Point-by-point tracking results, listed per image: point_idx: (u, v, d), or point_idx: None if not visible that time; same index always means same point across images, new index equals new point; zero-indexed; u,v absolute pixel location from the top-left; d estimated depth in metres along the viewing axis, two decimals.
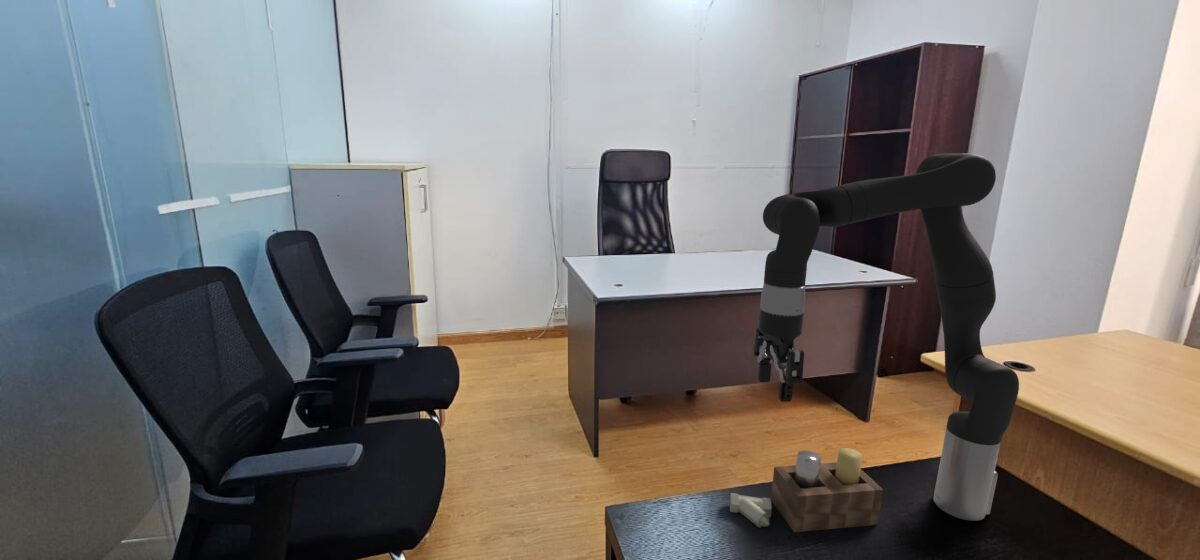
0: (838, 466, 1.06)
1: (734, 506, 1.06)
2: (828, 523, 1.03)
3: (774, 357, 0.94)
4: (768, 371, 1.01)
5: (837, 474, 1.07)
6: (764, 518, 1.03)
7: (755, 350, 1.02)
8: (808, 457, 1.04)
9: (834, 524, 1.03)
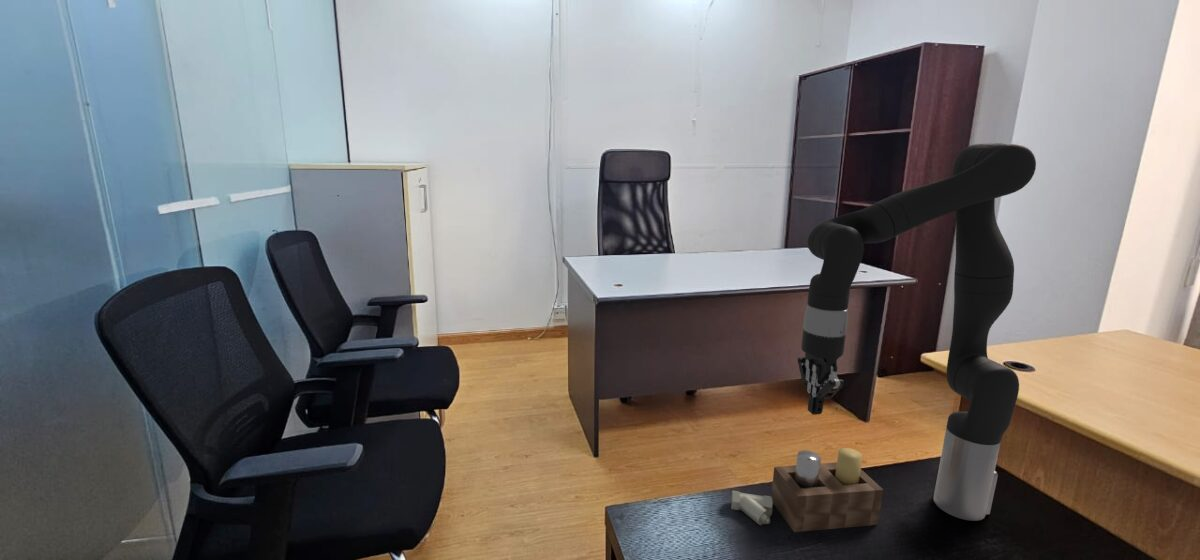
0: (838, 466, 1.06)
1: (735, 503, 1.07)
2: (828, 523, 1.03)
3: (814, 375, 0.99)
4: None
5: (837, 474, 1.07)
6: (765, 516, 1.03)
7: (803, 380, 1.04)
8: (808, 457, 1.04)
9: (834, 524, 1.03)
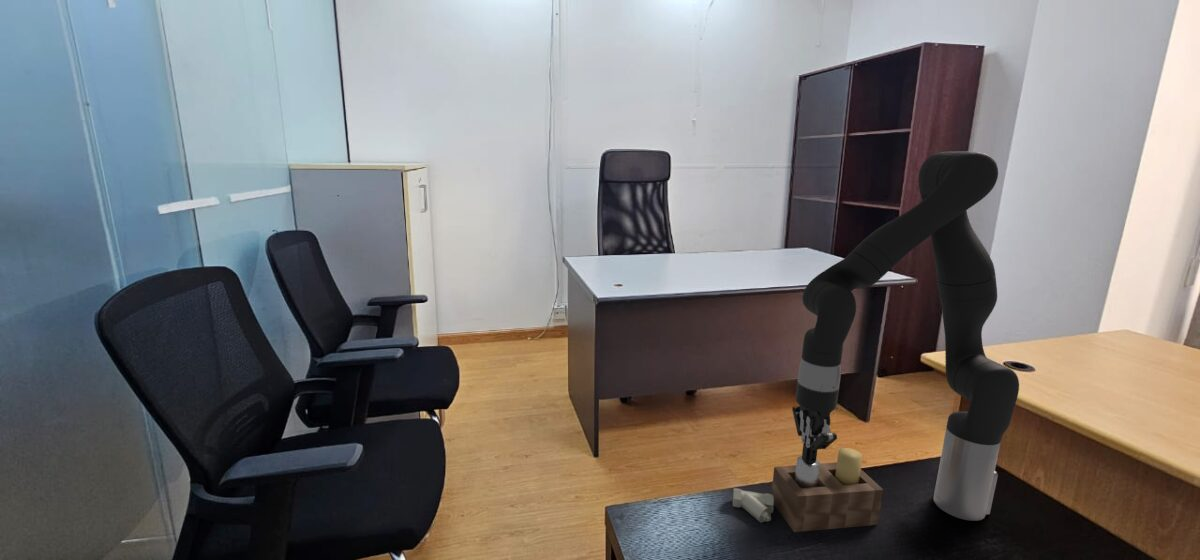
0: (838, 466, 1.06)
1: (736, 501, 1.08)
2: (828, 523, 1.03)
3: (807, 426, 1.02)
4: None
5: (837, 474, 1.07)
6: (766, 513, 1.04)
7: (798, 429, 1.06)
8: None
9: (834, 524, 1.03)
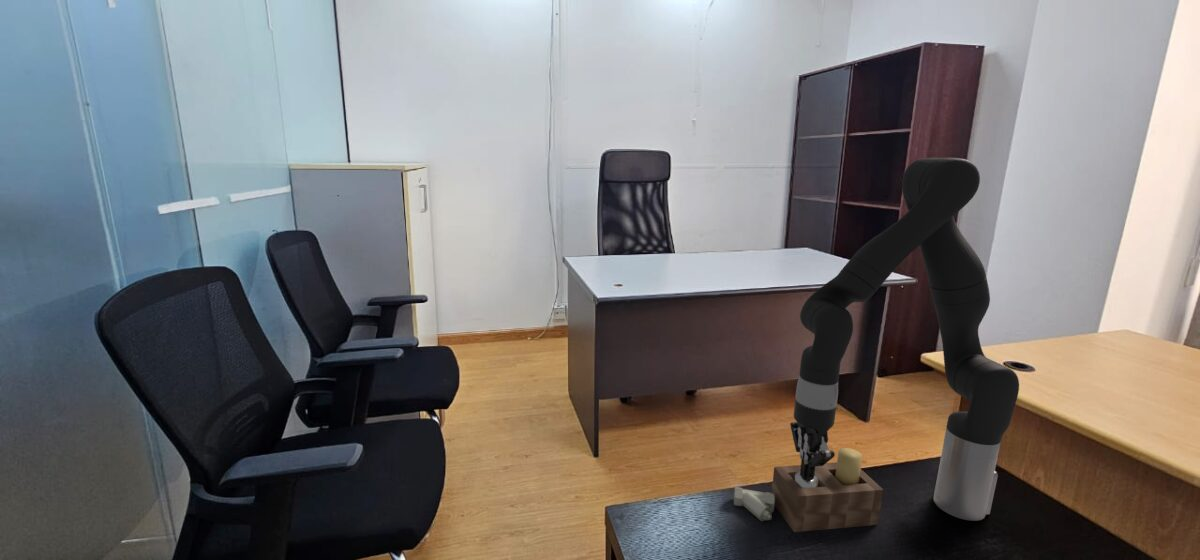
0: (838, 466, 1.06)
1: (737, 499, 1.08)
2: (828, 523, 1.03)
3: (805, 443, 1.03)
4: None
5: (837, 474, 1.07)
6: (766, 512, 1.05)
7: (796, 446, 1.07)
8: None
9: (834, 524, 1.03)
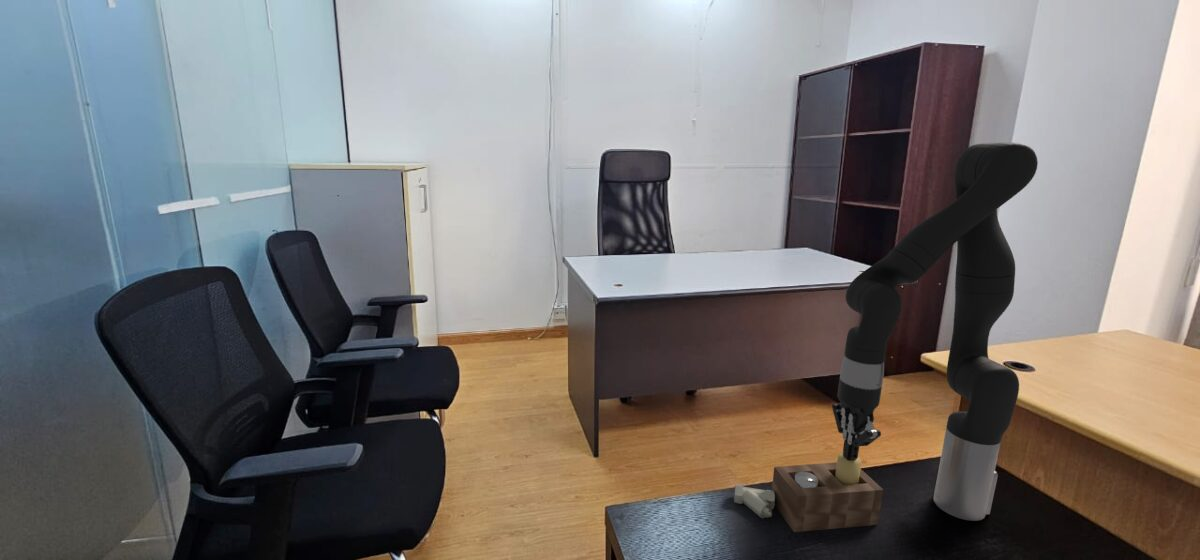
0: (837, 471, 1.07)
1: (738, 497, 1.09)
2: (828, 523, 1.03)
3: (850, 423, 1.03)
4: None
5: None
6: (767, 509, 1.05)
7: (838, 427, 1.08)
8: (805, 478, 1.05)
9: (834, 524, 1.03)
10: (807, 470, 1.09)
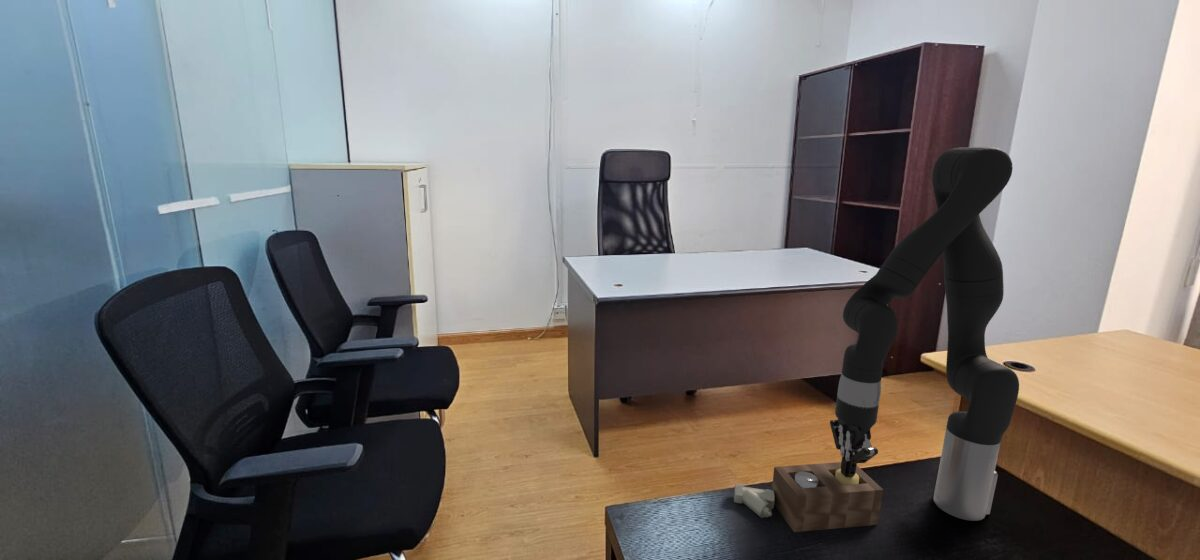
0: None
1: (738, 497, 1.09)
2: (828, 523, 1.03)
3: (847, 441, 1.04)
4: None
5: None
6: (767, 509, 1.06)
7: (836, 443, 1.08)
8: (805, 478, 1.05)
9: (834, 524, 1.03)
10: (807, 470, 1.09)
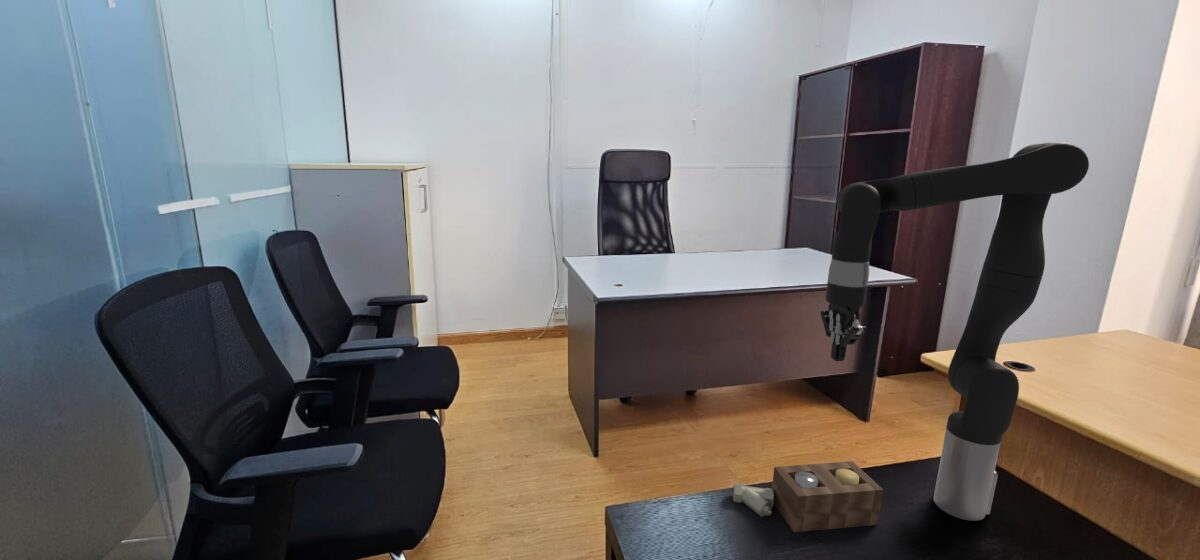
0: None
1: (737, 496, 1.10)
2: (828, 523, 1.03)
3: (837, 324, 1.08)
4: None
5: None
6: (766, 507, 1.06)
7: (827, 331, 1.13)
8: (805, 478, 1.05)
9: (834, 524, 1.03)
10: (807, 470, 1.09)
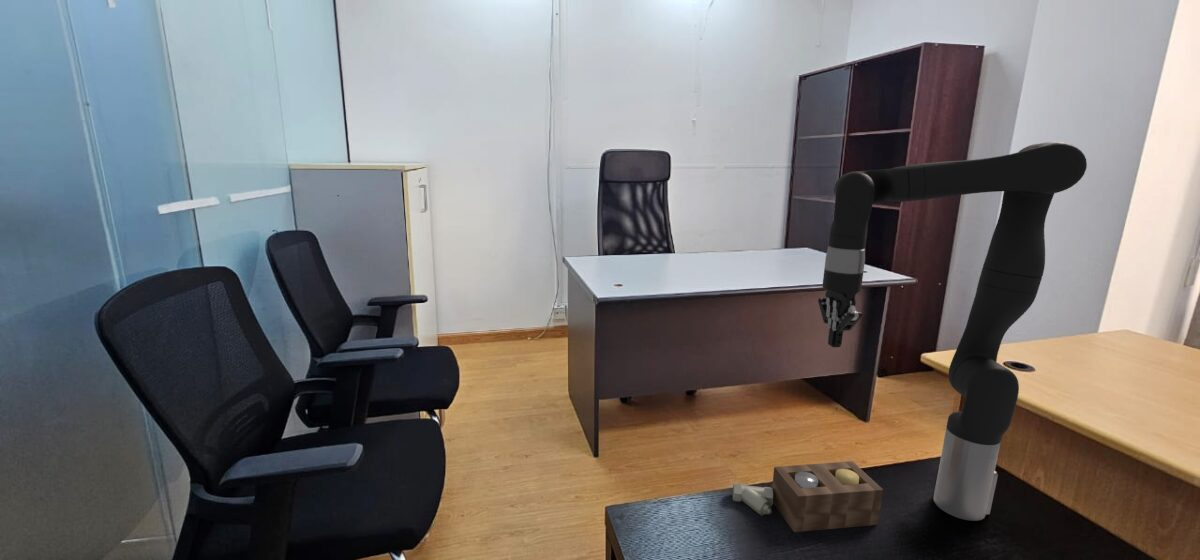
0: None
1: (737, 495, 1.10)
2: (828, 523, 1.03)
3: (834, 310, 1.10)
4: None
5: None
6: (766, 506, 1.06)
7: (824, 318, 1.15)
8: (805, 478, 1.05)
9: (834, 524, 1.03)
10: (807, 470, 1.09)
